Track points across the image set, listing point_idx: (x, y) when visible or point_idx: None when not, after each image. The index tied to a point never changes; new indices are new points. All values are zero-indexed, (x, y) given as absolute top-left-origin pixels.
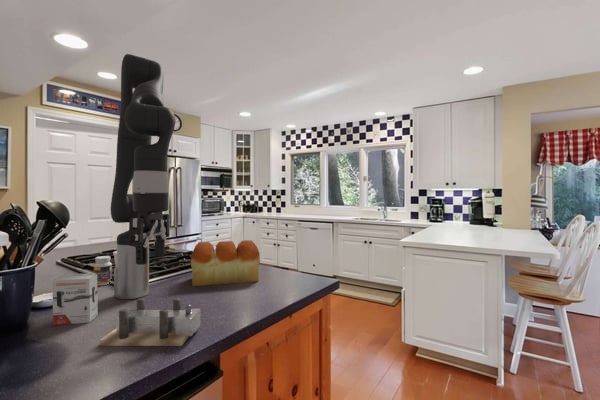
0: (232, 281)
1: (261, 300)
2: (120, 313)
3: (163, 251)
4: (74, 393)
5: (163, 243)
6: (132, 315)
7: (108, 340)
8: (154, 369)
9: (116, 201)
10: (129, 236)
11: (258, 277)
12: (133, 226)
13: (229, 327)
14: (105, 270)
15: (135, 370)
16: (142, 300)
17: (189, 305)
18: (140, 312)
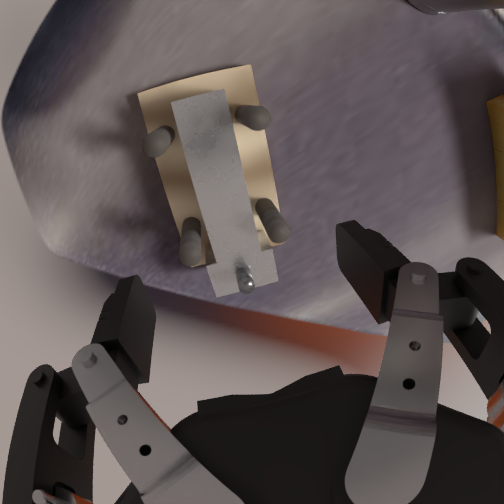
0: (499, 188)
1: None
2: (142, 145)
3: (350, 281)
4: (29, 207)
5: (372, 315)
6: (189, 140)
7: (142, 113)
8: (113, 268)
9: None
10: (19, 421)
11: (501, 238)
12: (29, 495)
13: (286, 298)
14: None
15: (98, 242)
16: (251, 129)
17: (244, 290)
18: (216, 145)
